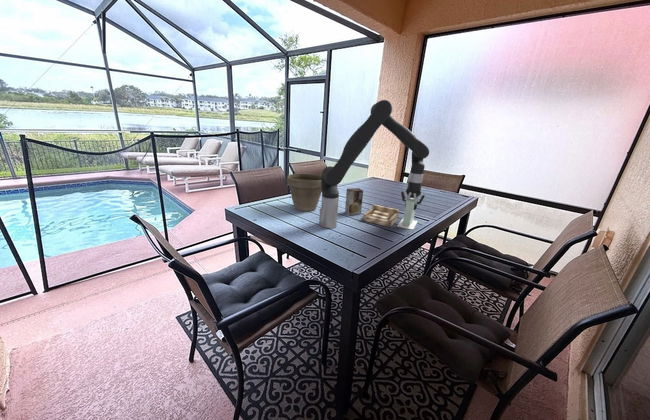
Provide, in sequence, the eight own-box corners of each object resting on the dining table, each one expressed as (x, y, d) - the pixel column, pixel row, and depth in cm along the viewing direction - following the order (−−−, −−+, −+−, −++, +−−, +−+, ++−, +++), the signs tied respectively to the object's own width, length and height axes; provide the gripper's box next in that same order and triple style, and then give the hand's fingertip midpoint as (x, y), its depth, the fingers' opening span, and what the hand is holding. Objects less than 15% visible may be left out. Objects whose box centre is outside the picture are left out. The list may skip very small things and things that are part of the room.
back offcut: (372, 219, 157) (373, 211, 155) (374, 217, 159) (375, 210, 158) (386, 222, 152) (387, 215, 151) (388, 221, 155) (389, 213, 153)
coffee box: (357, 211, 169) (359, 187, 164) (361, 214, 164) (363, 190, 158) (344, 211, 167) (346, 188, 161) (348, 215, 161) (350, 190, 155)
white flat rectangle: (397, 226, 147) (397, 225, 147) (403, 218, 161) (403, 217, 160) (412, 230, 143) (412, 229, 143) (417, 221, 157) (418, 221, 156)
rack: (363, 220, 153) (364, 211, 151) (372, 212, 167) (373, 204, 165) (390, 227, 146) (391, 217, 144) (397, 218, 160) (399, 209, 158)
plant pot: (308, 200, 186) (309, 171, 179) (331, 209, 169) (333, 178, 162) (279, 206, 170) (279, 174, 163) (302, 217, 153) (302, 182, 146)
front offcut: (370, 220, 154) (371, 214, 153) (372, 219, 156) (373, 213, 155) (384, 224, 149) (385, 218, 148) (386, 223, 152) (387, 217, 150)
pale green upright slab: (407, 217, 157) (410, 196, 153) (413, 219, 155) (417, 197, 151) (402, 223, 147) (406, 200, 143) (409, 225, 145) (413, 202, 141)
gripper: (429, 181, 143) (423, 210, 149) (404, 178, 149) (399, 205, 155) (427, 184, 137) (421, 213, 142) (401, 180, 143) (396, 208, 149)
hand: (410, 209), depth 149 cm, fingers closed on pale green upright slab, 4 cm apart
